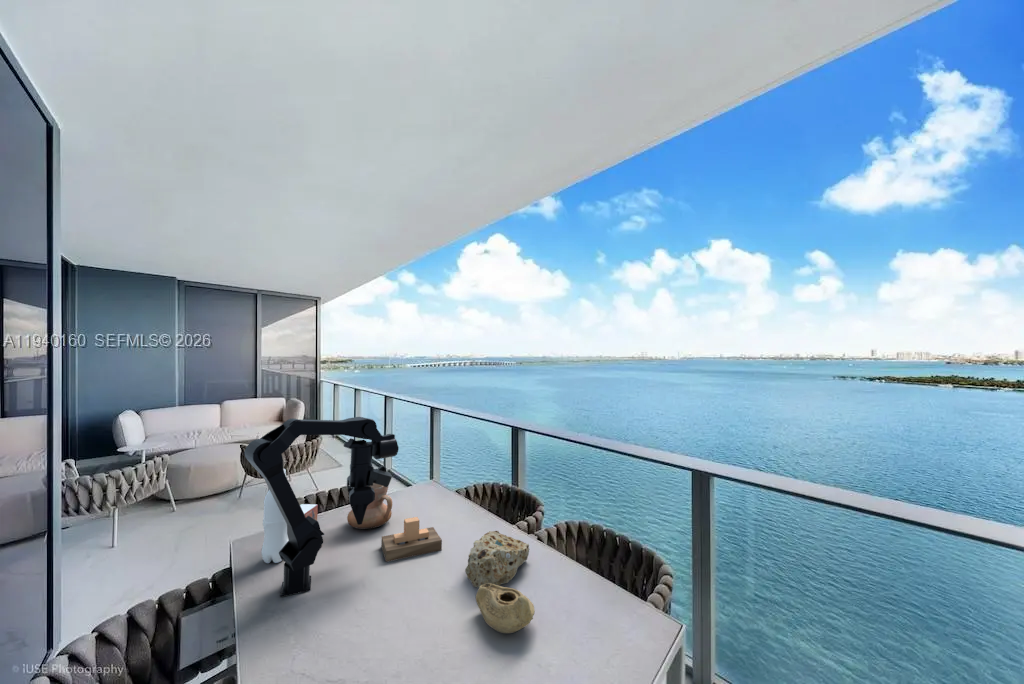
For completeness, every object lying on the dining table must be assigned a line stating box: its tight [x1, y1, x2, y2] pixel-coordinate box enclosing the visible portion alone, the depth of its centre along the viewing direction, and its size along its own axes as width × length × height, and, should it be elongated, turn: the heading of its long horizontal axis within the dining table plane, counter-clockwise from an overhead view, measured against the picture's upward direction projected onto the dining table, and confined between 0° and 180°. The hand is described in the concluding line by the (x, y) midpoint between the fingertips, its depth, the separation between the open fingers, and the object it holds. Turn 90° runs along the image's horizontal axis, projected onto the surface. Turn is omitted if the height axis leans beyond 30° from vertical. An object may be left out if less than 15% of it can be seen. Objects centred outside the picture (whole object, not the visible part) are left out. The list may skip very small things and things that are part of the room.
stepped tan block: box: [393, 516, 429, 545], centre depth 116 cm, size 3×10×8 cm, turn 116°
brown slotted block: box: [380, 526, 443, 563], centre depth 116 cm, size 10×16×3 cm, turn 116°
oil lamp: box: [475, 583, 536, 634], centre depth 83 cm, size 11×15×8 cm
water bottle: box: [261, 468, 289, 564], centre depth 110 cm, size 7×7×25 cm
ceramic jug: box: [346, 483, 393, 530], centre depth 133 cm, size 18×14×14 cm
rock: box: [464, 530, 530, 588], centre depth 104 cm, size 21×14×10 cm
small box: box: [300, 503, 319, 521], centre depth 119 cm, size 8×6×10 cm
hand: (358, 518), depth 108 cm, fingers open, 9 cm apart
